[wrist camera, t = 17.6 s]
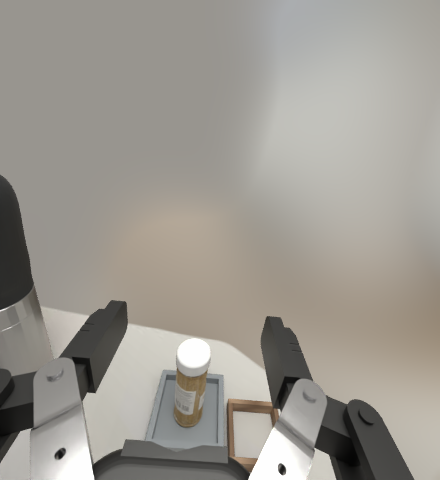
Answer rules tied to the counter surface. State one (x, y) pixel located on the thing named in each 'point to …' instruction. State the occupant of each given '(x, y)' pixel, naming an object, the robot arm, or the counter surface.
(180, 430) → the slate tray
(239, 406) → the wooden picture frame
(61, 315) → the counter surface
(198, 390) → the sprinkles bottle
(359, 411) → the robot arm
